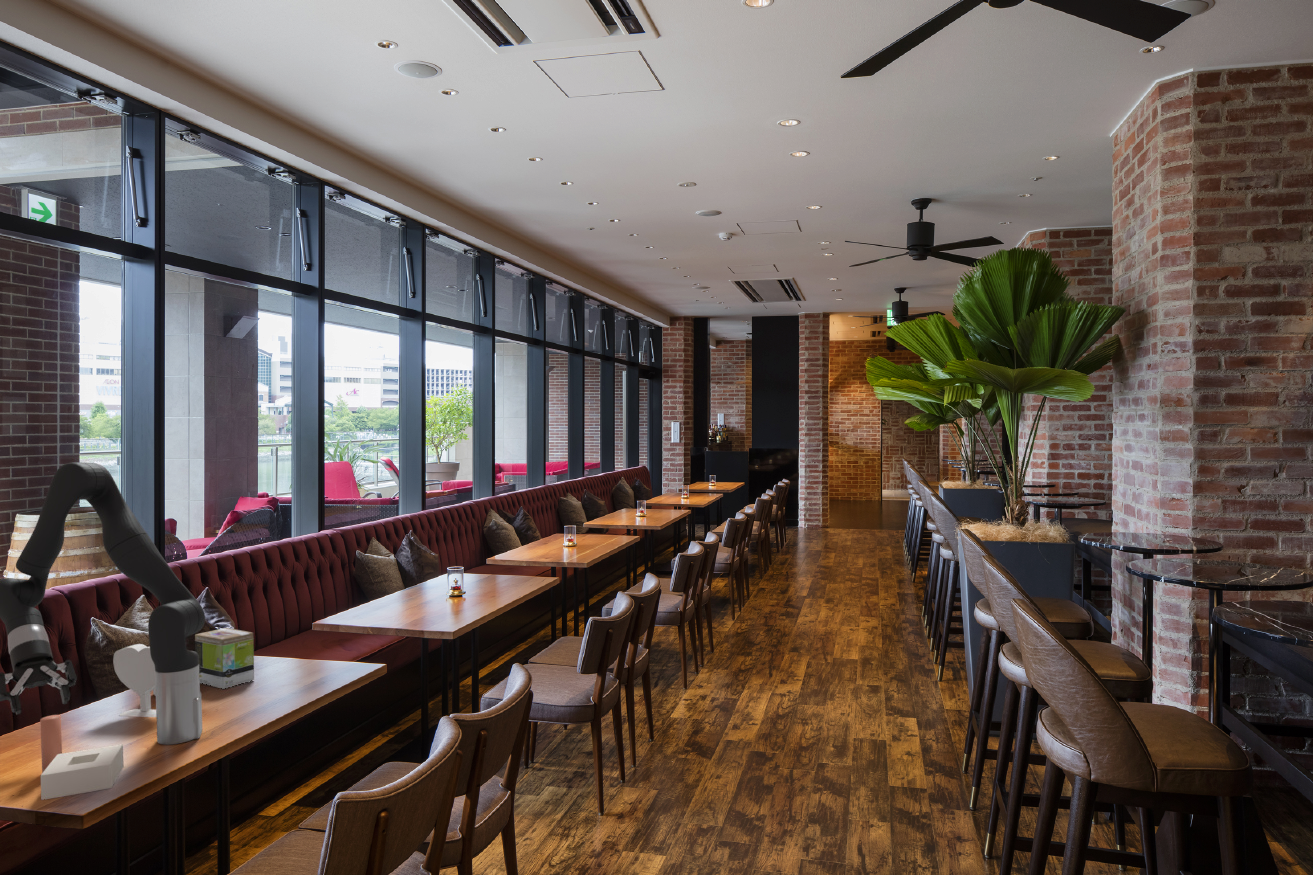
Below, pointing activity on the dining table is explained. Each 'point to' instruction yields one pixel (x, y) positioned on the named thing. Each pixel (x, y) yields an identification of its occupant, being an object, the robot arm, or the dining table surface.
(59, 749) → the pin
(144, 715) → the heart sculpture
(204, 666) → the tea box
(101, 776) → the block
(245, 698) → the dining table surface
